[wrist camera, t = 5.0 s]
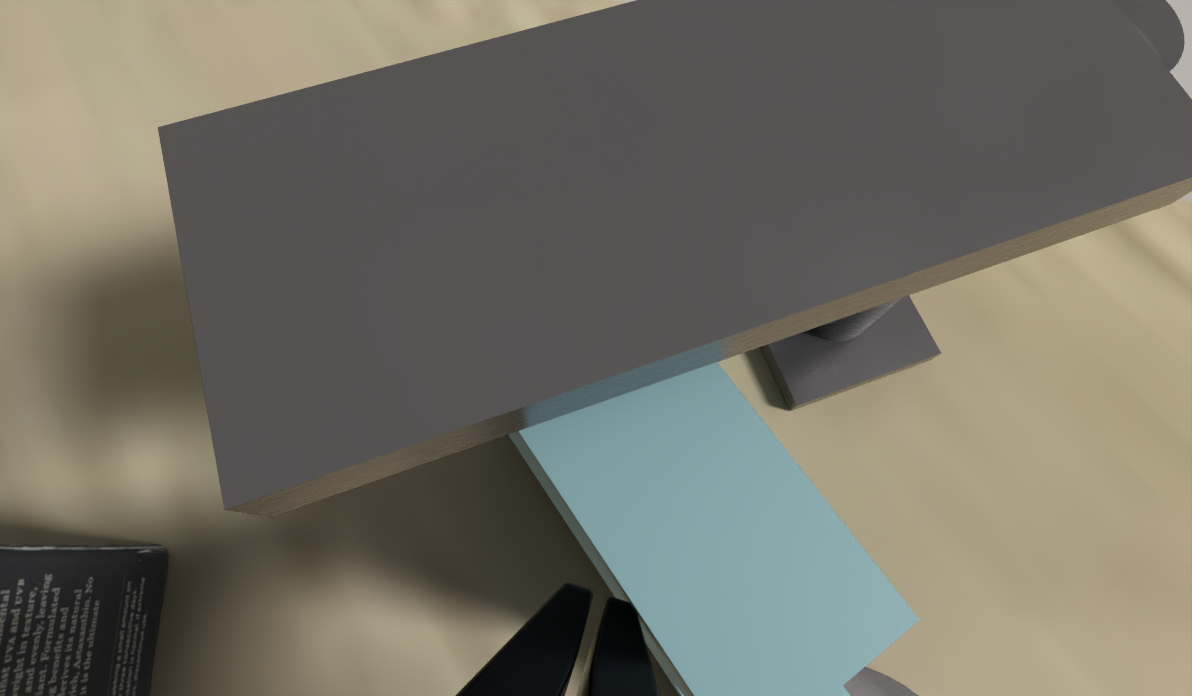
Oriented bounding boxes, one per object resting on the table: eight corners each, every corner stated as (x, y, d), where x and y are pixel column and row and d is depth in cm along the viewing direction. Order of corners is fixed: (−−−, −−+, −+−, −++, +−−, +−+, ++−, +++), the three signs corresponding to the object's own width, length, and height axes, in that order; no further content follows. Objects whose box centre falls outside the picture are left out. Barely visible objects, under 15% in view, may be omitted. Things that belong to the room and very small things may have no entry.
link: (1001, 863, 14) (1524, 1230, 6) (837, 1026, 13) (1214, 1701, 5) (599, 321, 18) (611, 131, 10) (450, 417, 17) (338, 288, 9)
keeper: (443, 545, 16) (224, 509, 6) (396, 375, 18) (158, 127, 8) (933, 366, 18) (1361, 119, 8) (855, 224, 20) (1138, -133, 10)
